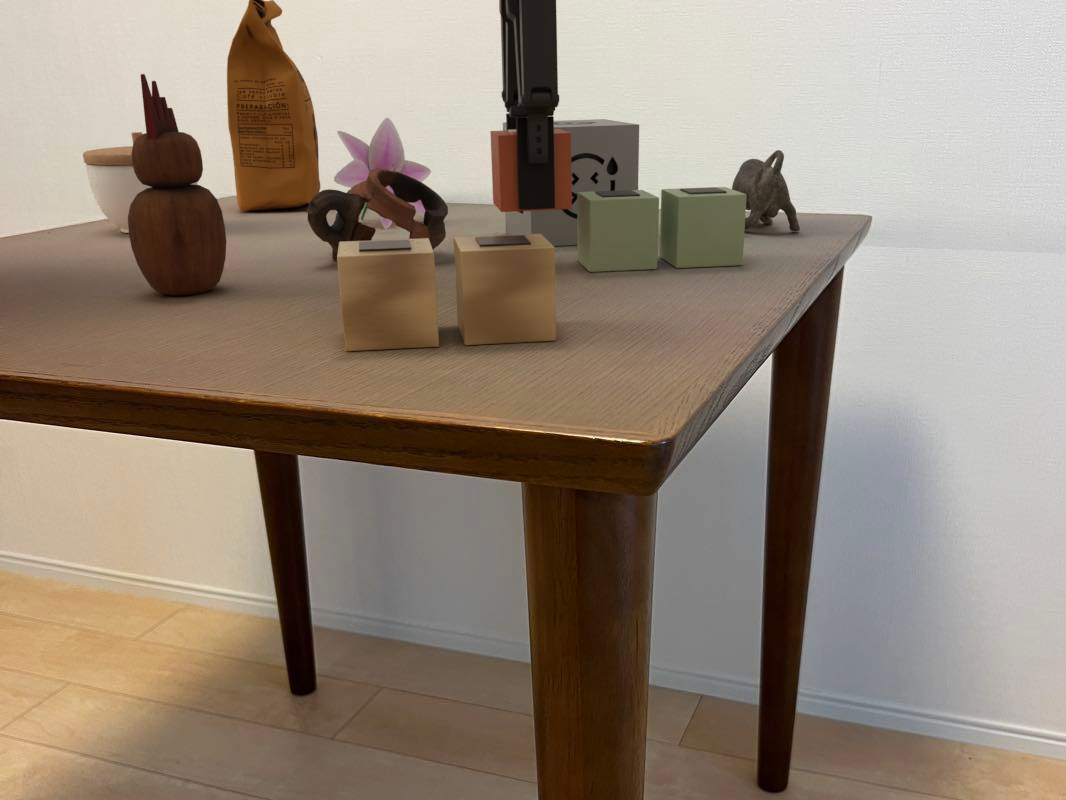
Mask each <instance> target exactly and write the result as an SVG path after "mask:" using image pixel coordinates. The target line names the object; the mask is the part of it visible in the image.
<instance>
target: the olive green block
mask: <svg viewBox="0 0 1066 800" xmlns="http://www.w3.org/2000/svg"><path fill="white" fill-rule="evenodd" d="M746 211H747V210H746V194H744V193H741V192H738V191H735V190H732V188H729V187H726V186H711V187H710V186H709V187H687V188H686V187H684V188H683V187H682V188H662V189H661V191H660V223H659V224H660V225H659V226H660V228H659V229H660V230H659V235H660V236H659V257H660V258H661V259H663V260H664V261H665V262H667V263H668V264H670V265H671V266H672V267H674V268H676V269H691V268H713V267H714V268H715V267H716V268H717V267H736V266H738V267H739V266H743V264H744V263H743V261H744V246H745V231H746V230H745V218H746V214H747V213H746Z"/></svg>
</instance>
